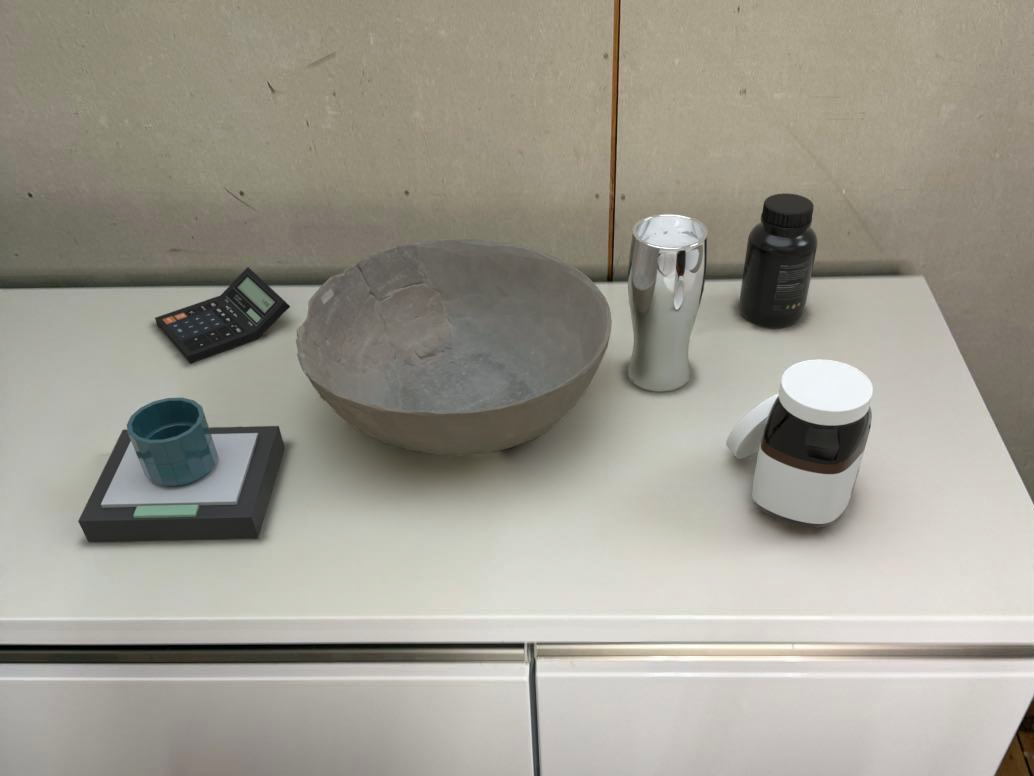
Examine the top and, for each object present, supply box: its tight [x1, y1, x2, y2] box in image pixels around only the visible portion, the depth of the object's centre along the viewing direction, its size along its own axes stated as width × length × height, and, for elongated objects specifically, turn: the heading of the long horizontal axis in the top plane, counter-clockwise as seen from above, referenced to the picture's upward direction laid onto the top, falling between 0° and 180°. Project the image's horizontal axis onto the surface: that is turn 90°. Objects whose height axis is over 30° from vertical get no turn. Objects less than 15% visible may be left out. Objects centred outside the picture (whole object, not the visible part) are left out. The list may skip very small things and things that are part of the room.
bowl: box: [295, 238, 613, 457], centre depth 88 cm, size 28×28×10 cm
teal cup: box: [126, 397, 218, 487], centre depth 79 cm, size 6×6×5 cm
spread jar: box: [725, 358, 874, 528], centre depth 78 cm, size 12×11×12 cm
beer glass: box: [627, 213, 709, 393], centre depth 89 cm, size 7×7×15 cm
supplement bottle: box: [738, 192, 819, 328], centre depth 98 cm, size 7×7×12 cm
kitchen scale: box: [77, 425, 285, 543], centre depth 82 cm, size 14×12×3 cm
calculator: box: [154, 266, 291, 365], centre depth 101 cm, size 9×12×3 cm
